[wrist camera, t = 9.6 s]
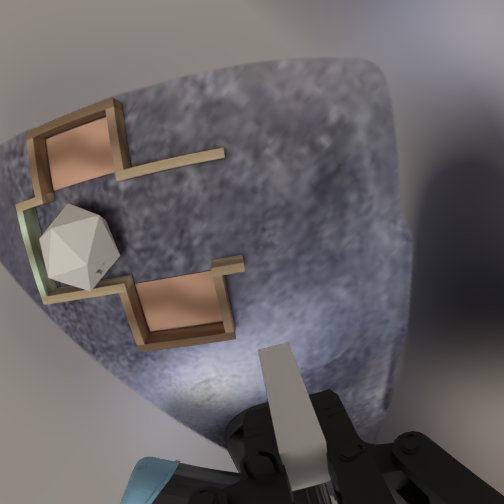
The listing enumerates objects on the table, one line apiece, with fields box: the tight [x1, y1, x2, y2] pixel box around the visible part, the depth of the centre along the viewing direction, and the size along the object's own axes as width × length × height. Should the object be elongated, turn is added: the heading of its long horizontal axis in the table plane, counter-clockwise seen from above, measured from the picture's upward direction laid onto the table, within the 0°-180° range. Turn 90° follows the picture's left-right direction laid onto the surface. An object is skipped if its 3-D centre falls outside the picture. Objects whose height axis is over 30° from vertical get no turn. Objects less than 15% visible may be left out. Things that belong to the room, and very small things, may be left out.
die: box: [39, 203, 120, 291], centre depth 30 cm, size 8×9×10 cm
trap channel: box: [16, 98, 245, 352], centre depth 32 cm, size 29×26×3 cm
